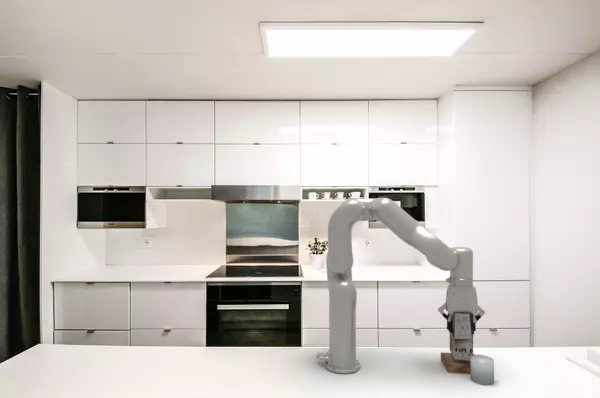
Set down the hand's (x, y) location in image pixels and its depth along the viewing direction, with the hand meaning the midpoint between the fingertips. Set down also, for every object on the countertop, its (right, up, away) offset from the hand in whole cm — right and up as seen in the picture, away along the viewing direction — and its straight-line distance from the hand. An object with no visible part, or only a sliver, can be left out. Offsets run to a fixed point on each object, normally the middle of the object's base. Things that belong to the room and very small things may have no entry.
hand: (461, 332), depth 134 cm
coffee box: (0, -8, 0) cm, 8 cm away
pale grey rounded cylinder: (+3, -12, -9) cm, 16 cm away
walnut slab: (0, -12, 0) cm, 12 cm away
